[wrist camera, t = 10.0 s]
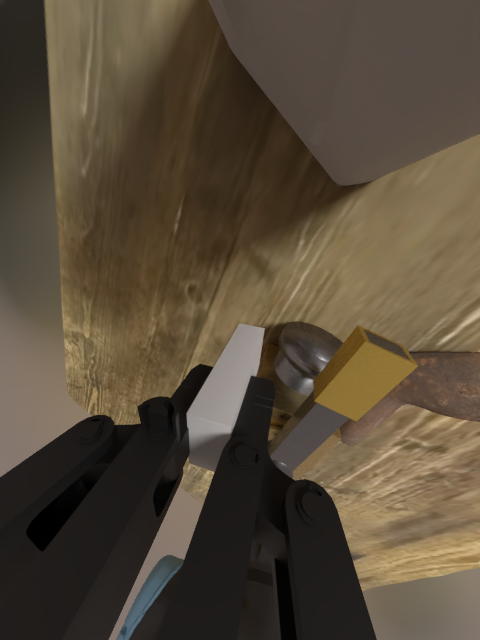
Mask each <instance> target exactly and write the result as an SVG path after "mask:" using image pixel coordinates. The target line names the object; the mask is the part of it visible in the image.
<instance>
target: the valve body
mask: <svg viewBox="0 0 480 640" xmlns="http://www.w3.org/2000/svg"><path fill="white" fill-rule="evenodd" d="M278 344H279V347H278V346H276V345H274V344H271V343H269V344H268V346H267V347H266V349H265V351H264V353H263V355H262V357H261V359H260V364H259V368H258V372H257V375H256V377H259V378H264V379H268V380H272V381H273V384H274V386H275V389H276V392H275V398H274V404H273V411H272V417H271V423H270V430H269V436H268V442H269V441H272V440H273V439H274V438H275V437H276V435H277V434H278V433H279V432H280V430H281V429H282V428H283V427H284V426H285V424H286V423H287V422H288V421H289V419H290V418H291V417H292V416H293V415H294V413H295V412H296V411H297V410H298V408H299V407H300V406H301V405H302V404H303V402H304V401H305V400H306V399H307V397H308V396H309V395H310V394H311V393H312V391H313V390H314V387H313V381H314V380H315V379H316V377H317V376H318V375H319V373H320V372H321V371H322V370H323V368H324V367H325V366H326V365H327V363H328V362H329V361H330V360H331V358H332V357H333V356H334V354H335V353H336V352H337V351H338V349H339V348H340V347H341V346H342V344H343V342H341V341H340V340H339V339H338V338H336V337H335V336H333V335H332V334H330V333H329V332H327V331H325V330H323V329H321V328H319V327H317V326H314V325H312V324H308V323H304V322H290V323H288V324H287V325H285V327H284V329H283V330H282V332H281V334H280V336H279V339H278ZM340 440H341V433H340V428H339V429H338V430H336V431H335V432H334V433H333V434H332V435H331V436H330V437H329V438H328V439H327V440H326V441H325V442H324V443H323V444H321V445H320V446H319V447H318V448H317V449H316V450H315V451H314V452H313V453H312V454H311V455H310V456H309V457H308V458H306V459H305V460H304V461H303V462H302V463H301V464H300V465H299V466H298V467H297V468H296V469H295V470H294V471H293V477H294V478H296V479H299V478H300V477H301V476H302V475H303V474H304V473H305V472H306V471H308V470H309V469H310V468H311V467H312V466H313V465H314V464H315V463H316V462H317V461H318V460H319V459H321V458H322V457H323V456H324V455H325V454H326V453H327V452H328V451H329V450H330V449H331V448H333V447H334V446H335V445H336V444H337V443H338V442H339V441H340Z"/></svg>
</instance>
